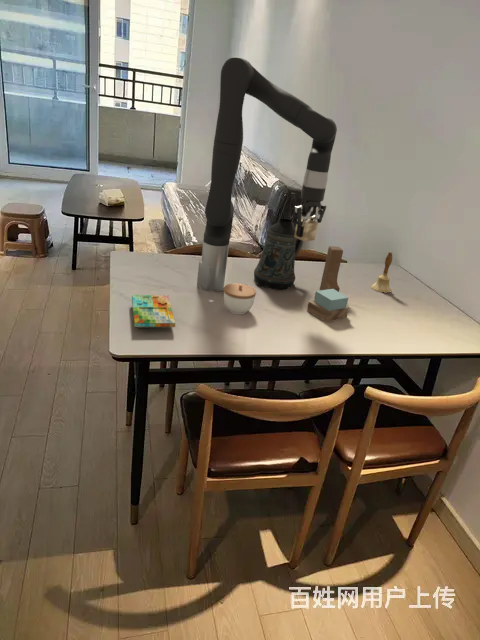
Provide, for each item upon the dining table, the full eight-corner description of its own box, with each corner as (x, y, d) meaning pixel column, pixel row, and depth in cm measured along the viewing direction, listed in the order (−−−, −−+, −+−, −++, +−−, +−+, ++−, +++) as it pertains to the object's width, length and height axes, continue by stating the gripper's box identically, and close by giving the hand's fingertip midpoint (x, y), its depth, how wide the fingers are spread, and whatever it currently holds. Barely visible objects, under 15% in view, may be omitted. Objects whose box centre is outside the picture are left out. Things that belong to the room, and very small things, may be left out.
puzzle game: (168, 292, 156) (175, 320, 139) (167, 305, 158) (174, 334, 141) (132, 292, 153) (134, 320, 136) (131, 305, 155) (134, 334, 138)
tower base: (328, 323, 162) (330, 313, 160) (306, 311, 168) (308, 301, 166) (346, 317, 168) (348, 307, 166) (324, 306, 174) (327, 296, 172)
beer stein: (247, 283, 184) (256, 220, 173) (262, 269, 201) (271, 210, 190) (287, 293, 180) (299, 229, 169) (300, 278, 197) (311, 219, 186)
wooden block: (337, 299, 181) (348, 254, 173) (326, 298, 180) (336, 253, 173) (329, 289, 189) (339, 246, 181) (319, 289, 188) (328, 245, 180)
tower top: (328, 311, 161) (331, 300, 159) (313, 301, 167) (316, 291, 165) (345, 308, 165) (348, 297, 164) (330, 298, 171) (332, 288, 169)
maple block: (304, 241, 158) (308, 223, 155) (294, 237, 161) (297, 219, 158) (314, 240, 161) (318, 222, 158) (304, 235, 164) (307, 218, 162)
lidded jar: (237, 301, 168) (240, 276, 164) (259, 313, 161) (263, 287, 157) (214, 307, 160) (217, 282, 156) (236, 320, 154) (240, 293, 150)
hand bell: (384, 294, 192) (394, 257, 185) (367, 287, 198) (376, 250, 191) (395, 291, 198) (405, 254, 191) (378, 283, 203) (388, 248, 196)
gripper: (320, 181, 160) (310, 231, 167) (290, 182, 151) (282, 234, 159) (337, 186, 155) (326, 237, 163) (308, 188, 146) (298, 241, 154)
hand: (304, 235), depth 161 cm, fingers closed on maple block, 5 cm apart
